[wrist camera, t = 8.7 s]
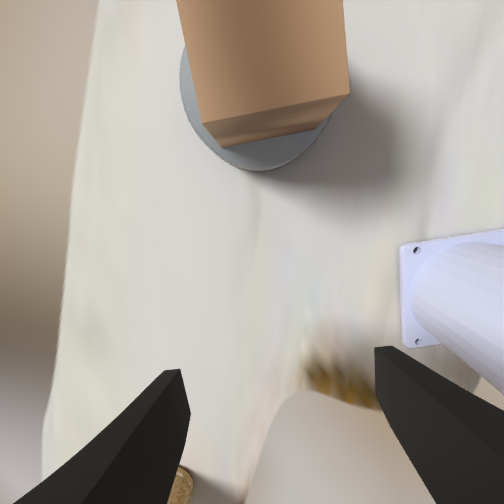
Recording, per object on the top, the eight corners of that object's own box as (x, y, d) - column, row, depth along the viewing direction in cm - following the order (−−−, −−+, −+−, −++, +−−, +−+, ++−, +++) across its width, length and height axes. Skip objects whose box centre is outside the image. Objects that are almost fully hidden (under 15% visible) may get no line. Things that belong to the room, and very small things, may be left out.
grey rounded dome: (316, 14, 14) (331, -31, 12) (329, 159, 16) (345, 152, 13) (181, 42, 15) (162, 5, 12) (208, 180, 17) (198, 178, 14)
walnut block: (303, 17, 12) (334, -102, 7) (315, 129, 13) (349, 93, 8) (200, 39, 12) (163, -60, 7) (221, 147, 13) (201, 123, 9)
